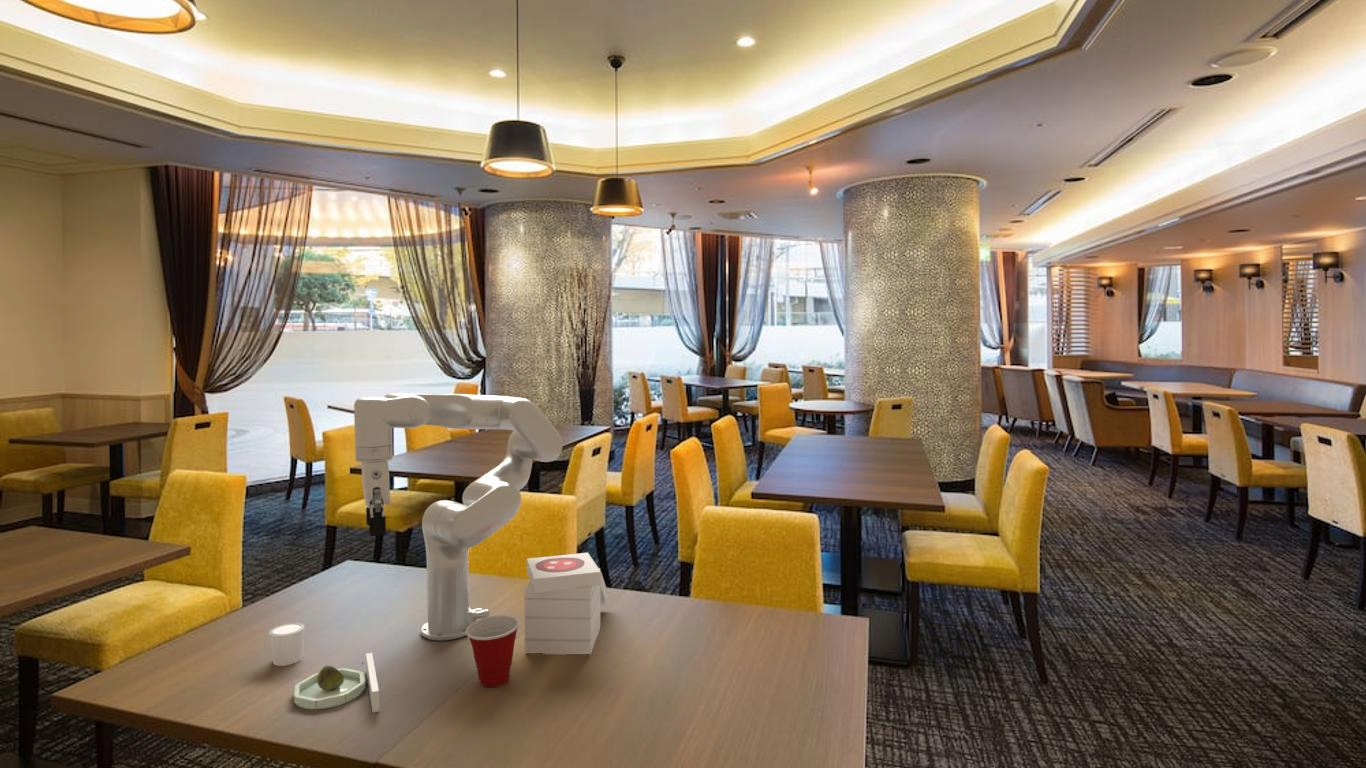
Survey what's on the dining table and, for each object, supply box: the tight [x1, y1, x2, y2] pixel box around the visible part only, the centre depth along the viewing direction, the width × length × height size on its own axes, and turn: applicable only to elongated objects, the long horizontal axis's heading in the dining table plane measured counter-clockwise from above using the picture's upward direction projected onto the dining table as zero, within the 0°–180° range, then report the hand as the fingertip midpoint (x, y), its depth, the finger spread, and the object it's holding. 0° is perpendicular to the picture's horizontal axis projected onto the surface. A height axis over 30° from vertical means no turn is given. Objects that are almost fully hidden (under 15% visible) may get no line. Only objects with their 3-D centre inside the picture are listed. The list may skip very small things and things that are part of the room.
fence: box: [365, 652, 380, 714], centre depth 140 cm, size 1×18×4 cm, turn 28°
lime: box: [317, 665, 344, 690], centre depth 139 cm, size 4×5×5 cm
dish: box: [293, 667, 367, 710], centre depth 140 cm, size 13×13×2 cm
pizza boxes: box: [523, 552, 609, 655], centre depth 169 cm, size 19×30×18 cm, turn 178°
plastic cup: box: [465, 614, 520, 688], centre depth 144 cm, size 11×11×12 cm
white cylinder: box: [268, 622, 305, 667], centre depth 153 cm, size 7×7×7 cm
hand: (376, 529), depth 155 cm, fingers open, 9 cm apart
